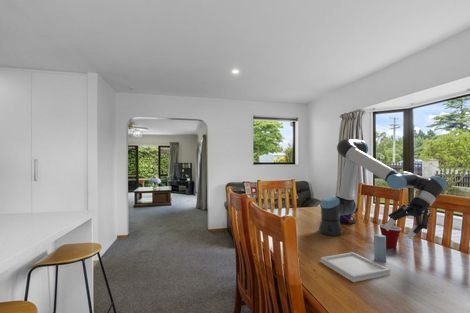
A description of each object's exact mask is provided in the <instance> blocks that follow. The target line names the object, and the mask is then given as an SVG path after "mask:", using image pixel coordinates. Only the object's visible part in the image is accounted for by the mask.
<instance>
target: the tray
mask: <svg viewBox="0 0 470 313" xmlns="http://www.w3.org/2000/svg"><path fill="white" fill-rule="evenodd" d="M320 263H322V264H323V265H325V266H326V267H328V268H330V269H332V270H333V271H335V273H338V274H339V275H341V276H343V277H344V278H346V279H348V280H349V281H351V282H353V283H357V282H362V281H365V280H366V281H367V280H370V279H375V278H380V277H385V276H389V275H391V269H390V268H389V267H386V266H383V265H382V264H380V263H377V262H375V261H373V260H370V259H368V258H366V257H364V256H362V255H360V254H358V253H355V252H354V251H351V252H347V253H340V254H333V255H328V256H321V257H320Z"/></svg>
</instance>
